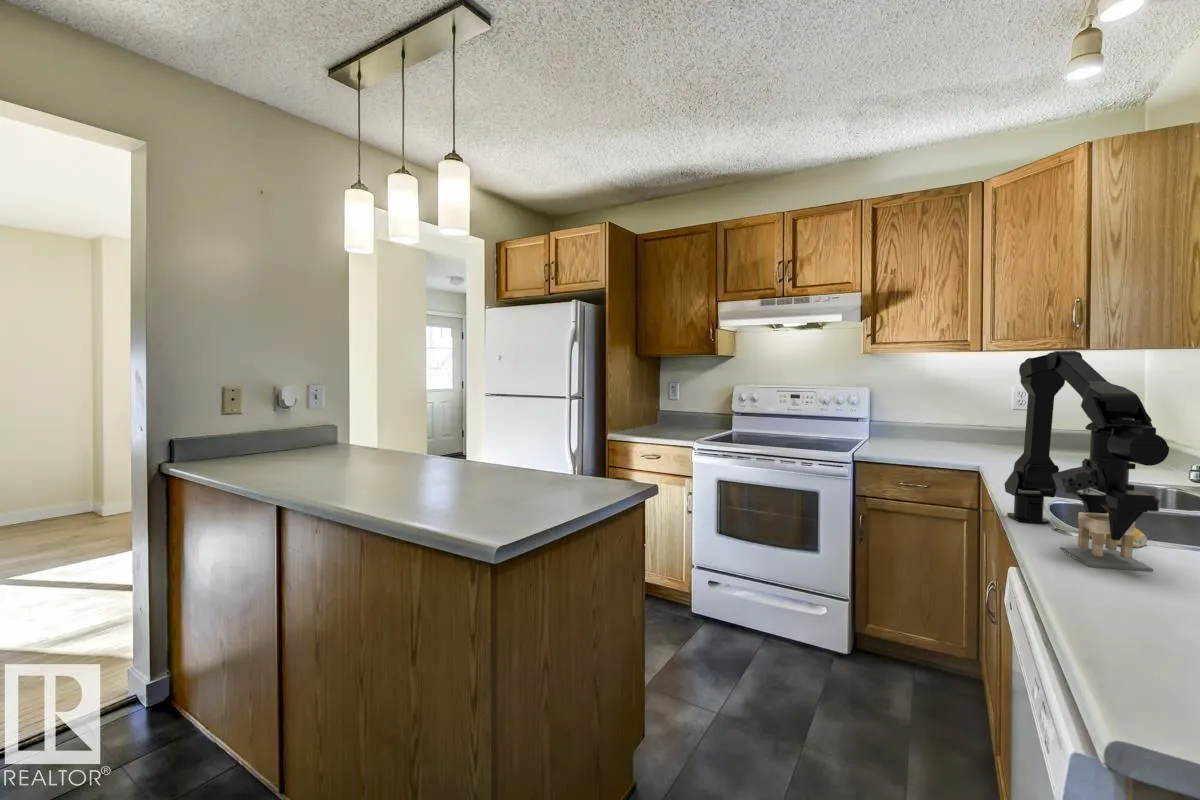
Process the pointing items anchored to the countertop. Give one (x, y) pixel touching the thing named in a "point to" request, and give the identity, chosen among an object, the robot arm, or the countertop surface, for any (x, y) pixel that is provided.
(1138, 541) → the bread roll
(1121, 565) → the mat
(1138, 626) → the countertop surface
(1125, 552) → the stool
